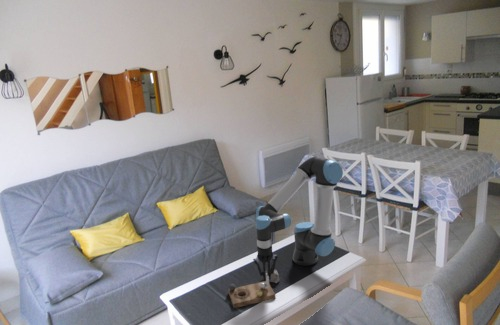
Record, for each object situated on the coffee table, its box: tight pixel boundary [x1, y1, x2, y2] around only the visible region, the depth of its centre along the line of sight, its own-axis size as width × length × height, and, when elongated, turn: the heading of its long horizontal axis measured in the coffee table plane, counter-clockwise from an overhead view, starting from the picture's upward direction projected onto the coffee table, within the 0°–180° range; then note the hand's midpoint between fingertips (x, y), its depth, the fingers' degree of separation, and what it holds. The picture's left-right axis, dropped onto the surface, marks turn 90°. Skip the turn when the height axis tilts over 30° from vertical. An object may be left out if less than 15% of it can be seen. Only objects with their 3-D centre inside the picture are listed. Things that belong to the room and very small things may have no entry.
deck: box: [228, 280, 276, 309], centre depth 199 cm, size 22×13×2 cm, turn 104°
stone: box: [266, 269, 281, 284], centre depth 212 cm, size 10×8×6 cm
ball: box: [259, 283, 266, 290], centre depth 200 cm, size 4×4×4 cm
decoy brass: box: [256, 290, 263, 297], centre depth 194 cm, size 4×4×4 cm
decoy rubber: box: [228, 283, 237, 291], centre depth 201 cm, size 4×4×4 cm
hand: (267, 285), depth 200 cm, fingers closed
